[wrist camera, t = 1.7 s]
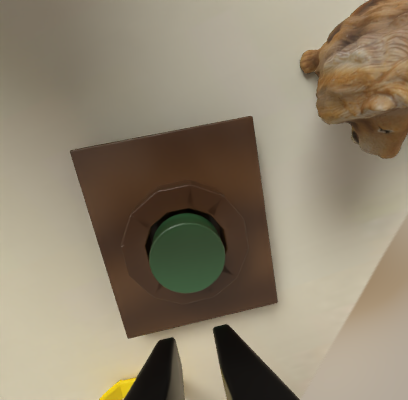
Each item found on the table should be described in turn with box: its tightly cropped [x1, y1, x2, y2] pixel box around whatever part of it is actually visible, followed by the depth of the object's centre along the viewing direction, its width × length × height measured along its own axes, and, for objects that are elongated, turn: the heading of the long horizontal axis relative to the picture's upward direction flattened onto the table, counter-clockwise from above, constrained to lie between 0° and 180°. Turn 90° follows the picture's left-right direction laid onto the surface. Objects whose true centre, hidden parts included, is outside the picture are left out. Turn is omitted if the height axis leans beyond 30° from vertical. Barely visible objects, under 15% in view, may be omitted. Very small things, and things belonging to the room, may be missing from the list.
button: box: [149, 213, 225, 293], centre depth 12 cm, size 4×4×2 cm
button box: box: [70, 116, 278, 338], centre depth 15 cm, size 12×10×4 cm
